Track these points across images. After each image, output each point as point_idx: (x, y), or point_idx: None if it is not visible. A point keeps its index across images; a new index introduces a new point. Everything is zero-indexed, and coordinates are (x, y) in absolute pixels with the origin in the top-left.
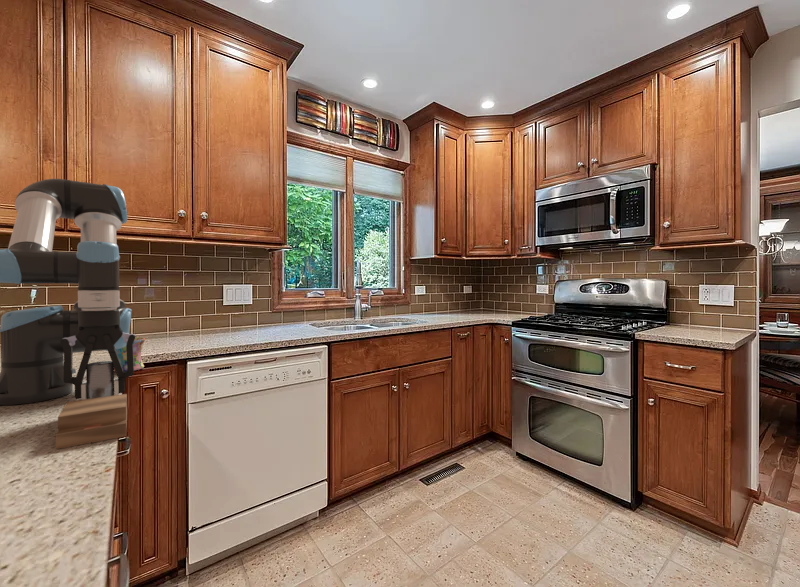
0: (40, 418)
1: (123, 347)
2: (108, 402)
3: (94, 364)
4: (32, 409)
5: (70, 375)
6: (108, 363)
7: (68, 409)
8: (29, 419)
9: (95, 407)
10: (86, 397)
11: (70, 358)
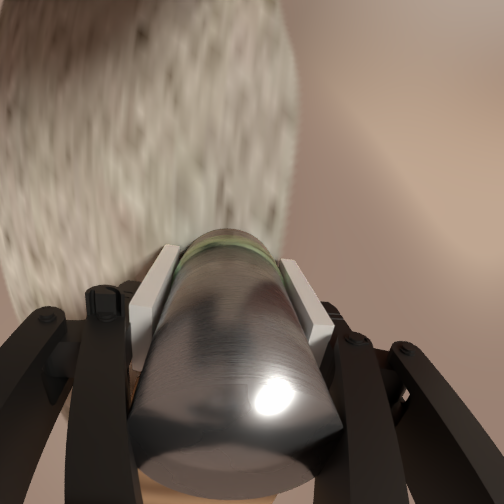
0: (50, 230)
1: None
2: None
3: (189, 471)
4: (31, 73)
5: (63, 400)
6: (288, 481)
7: (147, 486)
8: (27, 218)
9: (206, 501)
10: (167, 295)
11: (21, 493)
